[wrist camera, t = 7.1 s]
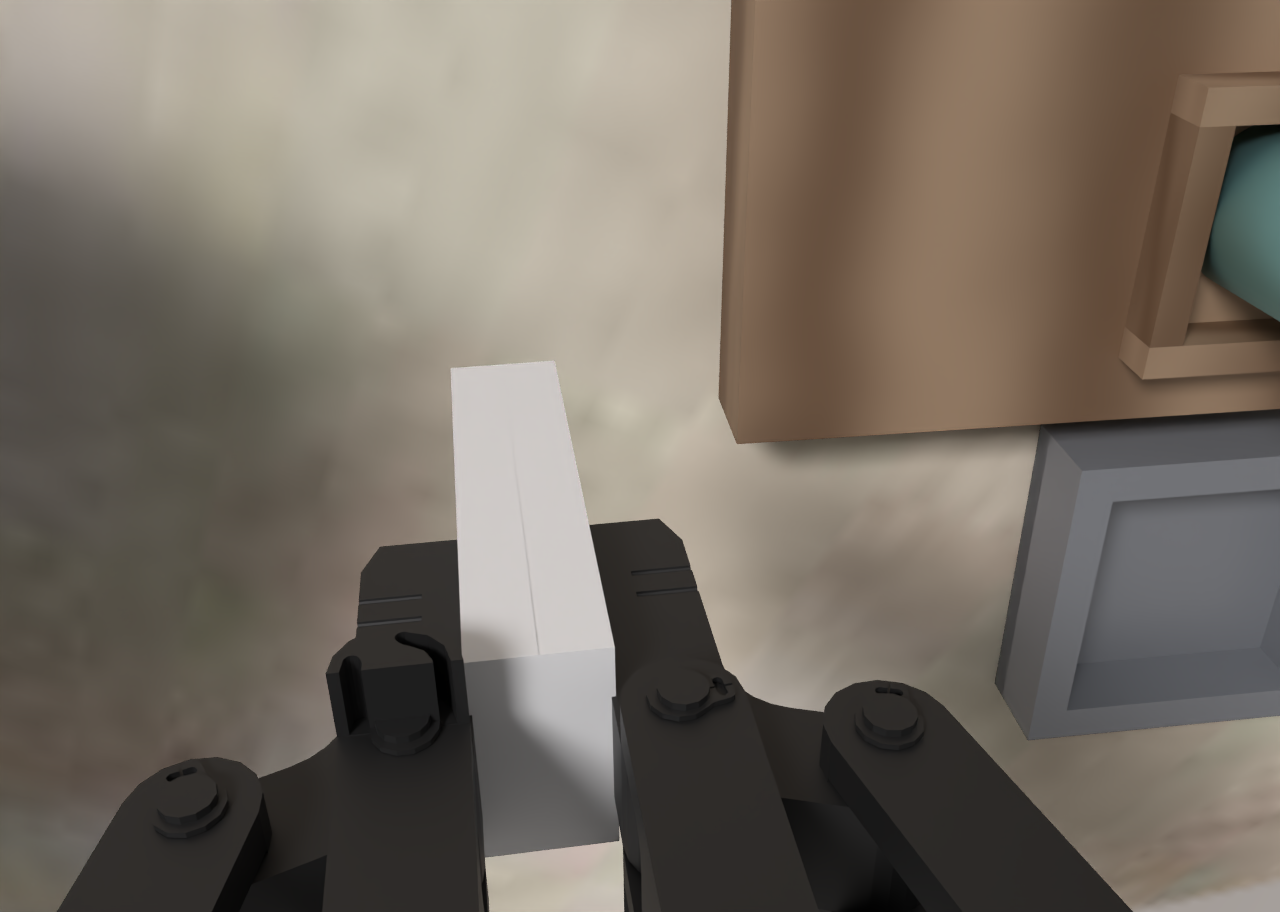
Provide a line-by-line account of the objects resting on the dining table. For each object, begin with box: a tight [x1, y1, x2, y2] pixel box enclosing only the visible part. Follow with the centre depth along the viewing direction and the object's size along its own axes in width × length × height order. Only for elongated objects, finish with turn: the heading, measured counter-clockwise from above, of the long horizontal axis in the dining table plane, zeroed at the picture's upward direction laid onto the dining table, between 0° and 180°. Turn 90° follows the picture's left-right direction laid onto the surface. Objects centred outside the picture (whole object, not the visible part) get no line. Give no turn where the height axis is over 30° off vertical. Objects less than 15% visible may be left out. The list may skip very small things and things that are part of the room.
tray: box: [995, 409, 1280, 740], centre depth 34 cm, size 9×9×2 cm
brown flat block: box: [719, 0, 1280, 444], centre depth 28 cm, size 16×10×4 cm, turn 90°
